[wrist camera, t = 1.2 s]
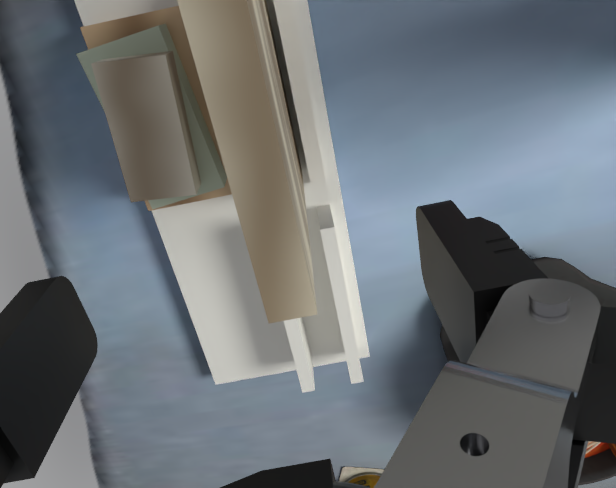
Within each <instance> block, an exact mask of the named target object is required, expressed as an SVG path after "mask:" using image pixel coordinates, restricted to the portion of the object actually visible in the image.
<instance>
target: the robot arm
mask: <svg viewBox="0 0 616 488" xmlns="http://www.w3.org/2000/svg"><path fill="white" fill-rule="evenodd" d="M416 221H417V231H418V240H419V250H420V260H421V269H422V275H423V280H424V284H425V288H426V291H427V294H428V296H429V298H430V300H431V302H432V304H433V306H434V308H435V310H436V313H437V315H438V317H439V319H440V321H441V323H442V325H443V327H444V329H445V331H446V333H447V335H448V337H449V339H450V341H451V344H452V346H453V348H454V350H455V352H456V354H457V356H458V358H459V360H460V361H456V360H450V361H449V362H447V363H446V365H445V366H444V367H443V369H442V370H441V372H440V374H439V376H438V377H437V379H436V381H435V383H434V384H433V386H432V388H431V390H430V391H429V393H428V395H427V396H426V398H425V400H424V402H423V403H422V405H421V407H420V409H419V410H418V412H417V414H416V416H415V417H414V419H413V421H412V423H411V424H410V426H409V428H408V430H407V431H406V433H405V435H404V436H403V438H402V440H401V442H400V443H399V445H398V447H397V449H396V450H395V452H394V454H393V456H392V457H391V459H390V461H389V463H388V464H387V466H386V468H385V470H384V471H383V473H382V475H381V477H380V478H379V480H378V482H377V483H376V485H375V487H374V488H578V484H579V480H580V476H581V471H582V467H583V463H584V458H585V454H586V450H587V445H588V441H592V442H602V443H612V444H616V308H613V307H603V306H600V303H599V301H598V299H597V297H596V296H595V295H594V294H593V293H592V292H590V291H589V290H588V289H586V288H584V287H582V286H580V285H577V284H575V283H572V282H568V281H564V280H559V279H549V278H548V277H547V276H546V275H545V274H544V273H543V272H542V271H541V270H540V269H539V268H538V267H537V265H536V264H535V263H534V262H533V261H532V260H531V259H530V258H529V257H528V256H527V255H526V254H525V253H524V252H523V250H522V249H519V246H518V245H517V244H516V243H515V242H514V241H513V240H512V239H510V237H509V235H508V234H507V233H506V232H505V231H504V230H503V229H502V228H501V227H500V226H499V225H498V224H495V223H493V222H491V221H488V220H486V219H484V218H482V217H475V218H470V219H466V217H465V216H464V215H463V214H462V212H461V211H460V210H459V209H458V208H457V206H456V205H455V204H454V203H453V202H452V201H451V200H449V201H444V202H439V203H434V204H429V205H423V206H418V207H417V209H416ZM96 353H97V337H96V333H95V331H94V328H93V326H92V324H91V322H90V320H89V318H88V316H87V314H86V312H85V310H84V308H83V306H82V303H81V301H80V299H79V297H78V295H77V293H76V291H75V289H74V287H73V285H72V283H71V282H70V281H69V280H68V279H67V278H66V277H64V276H59V277H54V278H49V279H44V280H39V281H34V282H29V283H27V284H26V285H25V286H24V287H23V288H22V289H21V290H20V291H19V293H18V294H17V295H16V296H15V297H14V298H13V299H12V300H11V302H10V303H9V304H8V305H7V306H6V308H5V309H4V310H3V311H2V312H1V313H0V488H1V486H2V485H3V483H8V482H13V481H19V480H25V479H30V478H34V477H35V475H36V473H37V471H38V469H39V467H40V465H41V463H42V461H43V459H44V457H45V455H46V454H47V452H48V450H49V448H50V446H51V444H52V442H53V440H54V438H55V436H56V434H57V432H58V430H59V428H60V426H61V424H62V422H63V420H64V418H65V416H66V414H67V412H68V410H69V408H70V406H71V404H72V402H73V400H74V398H75V396H76V394H77V393H78V391H79V389H80V387H81V385H82V383H83V381H84V379H85V377H86V375H87V373H88V371H89V369H90V367H91V365H92V363H93V361H94V359H95V357H96ZM221 488H370V487H367V486H363V485H358V484H353V483H348V482H337V481H336V480H335V476H334V472H333V468H332V464H331V460H330V459H326V460H320V461H314V462H309V463H303V464H297V465H292V466H286V467H280V468H275V469H269V470H263V471H260V472H257V473H255V474H253V475H250V476H248V477H245V478H243V479H240V480H238V481H235V482H233V483H230V484H228V485H226V486H223V487H221Z"/></svg>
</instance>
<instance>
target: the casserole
mask: <svg viewBox="0 0 616 488" xmlns="http://www.w3.org/2000/svg"><path fill="white" fill-rule="evenodd" d="M531 260H532V261H533V262H534V263H535V264H536V265H537V267H538V268H539V269H540V270H541V271H542V272H543V273H544V274H545V275H546V276H547V277H548V278H549V279H559V280H564V281H568V282H572V283H575V284H577V285H580V286H582V287H584V288H586V289H588V290H589V291H590V292H592V293H593V294H594V295H595V296H596V297H597V299H598V301H599V303H600V306H603V307H613V308H616V288H614V287H612V286H609V285H606V284H604V283H601V282H599V281H596V280H593V279H591V278H589V277H588V276H587V275H585V274H584V273H582V272H581V271H580V270H578V269H577V268H575V267H574V266H572V265H570V264H569V263H567V262H565V261H564V260H562V259H556V258H549V257H542V258H536V259H531ZM440 337H441V341H442V344H443V348H444V351H445V354H446V357H447V360H448V362H449V361H450V360H456V361H460V360H459V358H458V356H457V354H456V352H455V350H454V348H453V346H452V344H451V341H450V339H449V337H448V335H447V333H446V331H445V329H444V327H443V325H442V328H441V333H440ZM613 476H616V444H612V443H602V442H592V441H588V445H587V450H586V454H585V458H584V463H583V467H582V471H581V476H580V480H579V484H578V485H583V484H589V483H594V482H598V481H601V480H605V479H608V478H611V477H613Z"/></svg>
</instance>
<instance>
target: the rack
mask: <svg viewBox="0 0 616 488" xmlns="http://www.w3.org/2000/svg"><path fill="white" fill-rule="evenodd" d="M74 1H75V4H76V7H77V9H78V12H79V15H80V18H81V20H82V23H83V26H88V25H93V24H97V23H102V22H107V21H111V20H116V19H120V18H125V17H129V16H134V15H138V14H143V13H147V12H152V11H157V10H161V9H166V8H170V7H175V6H179V5H178V2H177V0H74ZM266 1H267V6H268V11H269V15H270V20H271V25H272V30H273V34H274V39H275V44H276V49H277V54H278V58H279V63H280V68H281V73H282V77H283V82H284V87H285V92H286V97H287V101H288V106H289V111H290V116H291V120H292V125H293V130H294V135H295V140H296V144H297V149H298V154H299V159H300V163H301V168H302V175H303V184H304V194H305V203H306V212H307V222H308V231H309V240H310V250H311V259H312V268H313V278H314V287H315V296H316V306H317V315H312V316H307V317H301V318H296V319H291V320H285V321H280V322H275V323H268V320H267V316H266V312H265V309H264V305H263V302H262V298H261V295H260V291H259V288H258V284H257V281H256V277H255V274H254V270H253V267H252V263H251V259H250V256H249V252H248V249H247V245H246V242H245V238H244V235H243V231H242V228H241V224H240V221H239V217H238V214H237V210H236V207H235V203H234V199H233V196H232V194H231V195H226V196H221V197H216V198H211V199H207V200H202V201H197V202H192V203H187V204H182V205H177V206H172V207H167V208H162V209H157V210H152V213H153V216H154V218H155V221H156V224H157V227H158V229H159V232H160V235H161V237H162V240H163V243H164V246H165V248H166V251H167V254H168V256H169V259H170V262H171V265H172V267H173V270H174V273H175V275H176V278H177V281H178V284H179V286H180V289H181V292H182V294H183V297H184V300H185V303H186V305H187V308H188V311H189V313H190V316H191V319H192V322H193V324H194V327H195V330H196V332H197V335H198V338H199V341H200V343H201V346H202V349H203V351H204V354H205V357H206V360H207V362H208V365H209V368H210V370H211V373H212V376H213V379H214V381H215V384H216V385H217V384H222V383H228V382H233V381H239V380H244V379H250V378H255V377H261V376H266V375H272V374H277V373H282V372H288V371H293V370H297V373H298V377H299V381H300V385H301V388H302V392H303V393H304V392H309V391H315V387H314V374H313V367H315V366H321V365H326V364H332V363H337V362H343V361H347V365H348V370H349V375H350V380H351V384H353V383H359V382H364V381H363V376H362V370H361V365H360V360H359V358H365V357H370V354H369V349H368V343H367V337H366V332H365V326H364V320H363V315H362V309H361V303H360V297H359V292H358V286H357V280H356V275H355V269H354V263H353V258H352V252H351V246H350V240H349V235H348V229H347V223H346V218H345V212H344V206H343V201H342V195H341V189H340V183H339V178H338V172H337V166H336V161H335V155H334V149H333V144H332V138H331V132H330V126H329V121H328V115H327V109H326V104H325V98H324V92H323V87H322V81H321V75H320V69H319V64H318V58H317V52H316V47H315V41H314V35H313V30H312V24H311V18H310V13H309V7H308V1H307V0H266Z"/></svg>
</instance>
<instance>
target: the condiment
mask: <svg viewBox="0 0 616 488" xmlns="http://www.w3.org/2000/svg"><path fill="white" fill-rule="evenodd" d="M383 471H384V470H383V469H370V468H359V467H358V468H355V467H343V468H342V472H341V475H340V479H339V482H348V483H353V484H358V485H363V486H367V487H370V488H374V487H375V485H376V483H377V482H378V480H379V478H380V477H381V475H382V473H383Z"/></svg>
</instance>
